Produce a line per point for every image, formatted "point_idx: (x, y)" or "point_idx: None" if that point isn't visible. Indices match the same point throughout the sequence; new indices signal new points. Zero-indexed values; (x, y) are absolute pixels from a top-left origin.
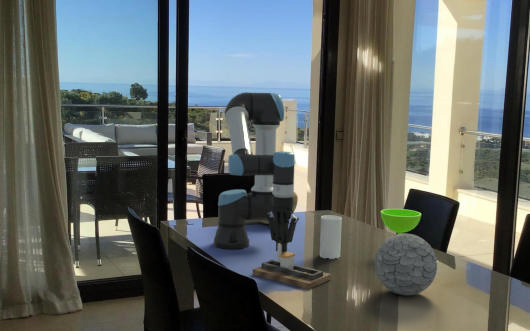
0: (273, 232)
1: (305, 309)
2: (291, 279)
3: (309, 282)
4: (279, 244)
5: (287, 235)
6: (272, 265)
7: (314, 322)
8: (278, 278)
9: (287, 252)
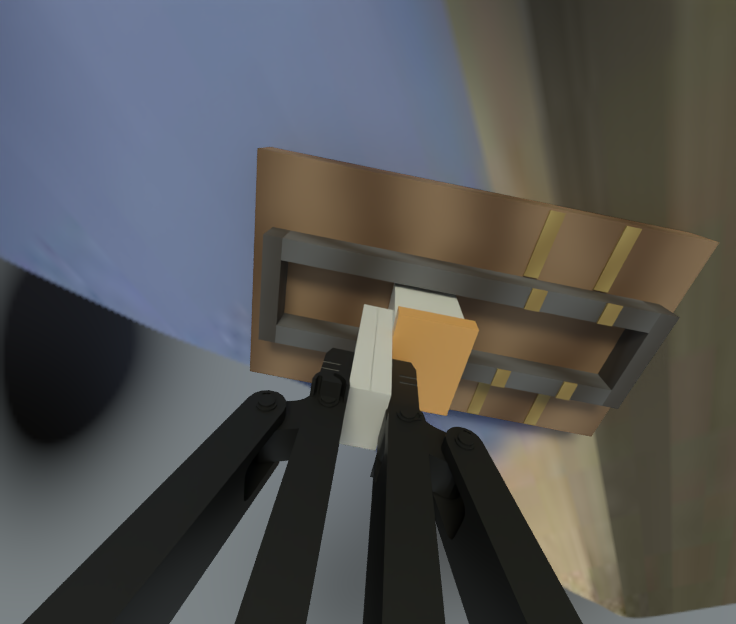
0: (238, 517)
1: (593, 557)
2: (489, 415)
3: (589, 424)
4: (358, 441)
5: (459, 564)
6: (335, 347)
7: (632, 606)
8: None
9: (407, 328)
